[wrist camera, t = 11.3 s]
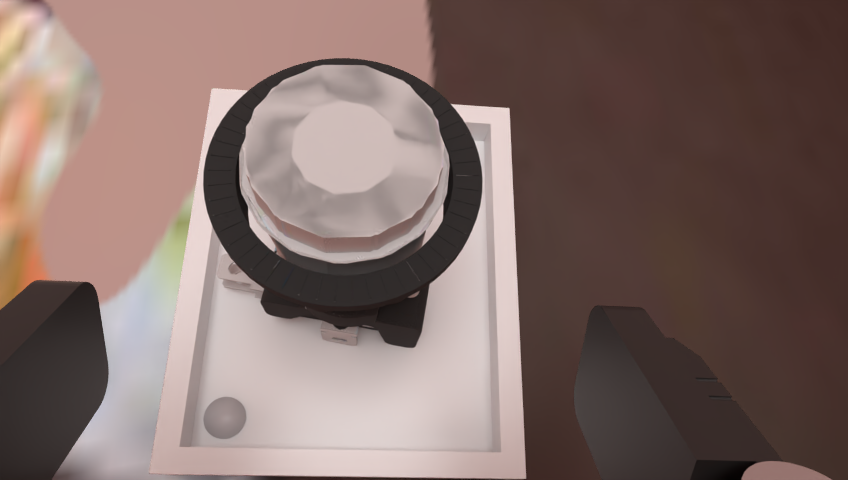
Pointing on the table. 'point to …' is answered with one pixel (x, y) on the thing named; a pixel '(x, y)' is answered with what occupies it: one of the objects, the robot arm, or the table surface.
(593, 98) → the table surface
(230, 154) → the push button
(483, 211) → the white button tray
